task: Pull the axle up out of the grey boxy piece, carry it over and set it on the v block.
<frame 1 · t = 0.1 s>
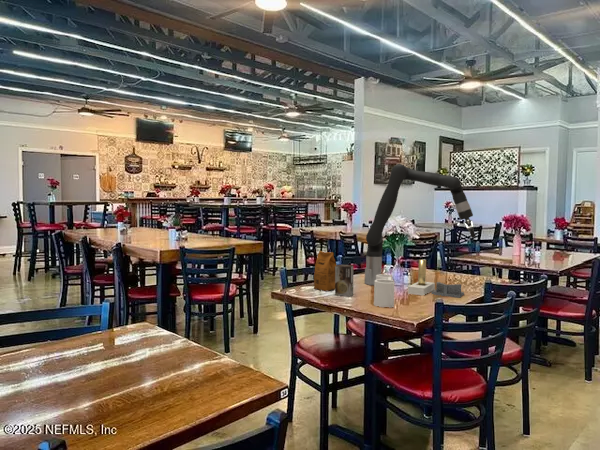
hand: (473, 236, 260), 31 cm above the table, tool tilted 20°, fingers open, 8 cm apart
axle: (422, 275, 259), in the grey boxy piece
coffee box: (344, 295, 249), on the table
grey piece: (383, 302, 233), on the table
v block: (448, 293, 254), on the table
grey boxy piece: (421, 291, 259), on the table
coffee package: (324, 289, 263), on the table
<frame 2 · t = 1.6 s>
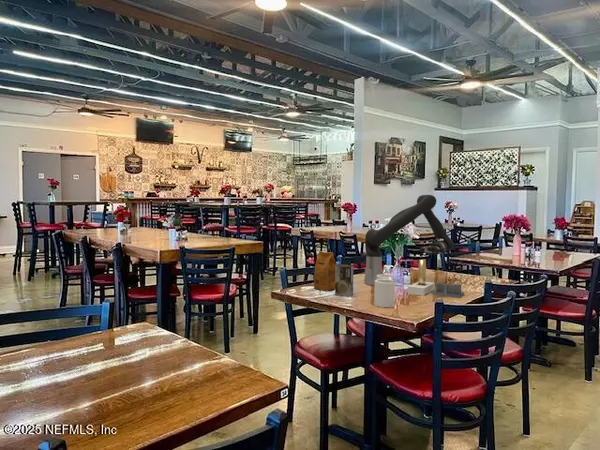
hand: (428, 251, 267), 22 cm above the table, tool horizontal, fingers open, 8 cm apart
nothing on the table moved.
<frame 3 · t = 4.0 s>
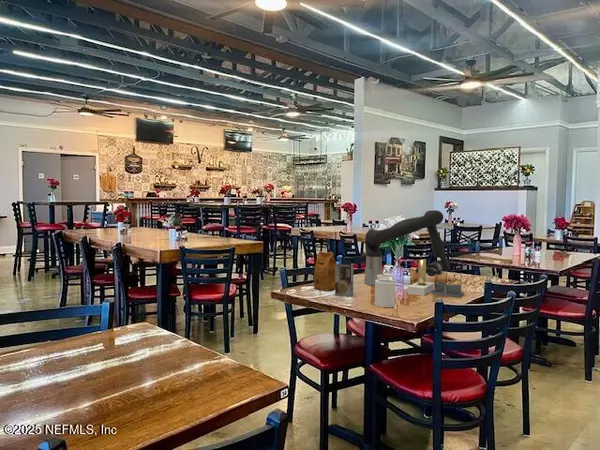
hand: (425, 272, 264), 10 cm above the table, tool horizontal, fingers open, 8 cm apart
nothing on the table moved.
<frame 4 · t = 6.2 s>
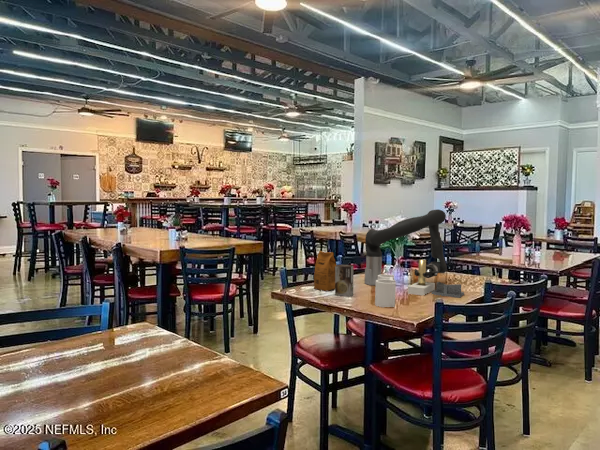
hand: (420, 274, 257), 10 cm above the table, tool horizontal, fingers closed on axle, 4 cm apart
axle: (422, 275, 259), in the grey boxy piece, touching gripper
everything else where it was.
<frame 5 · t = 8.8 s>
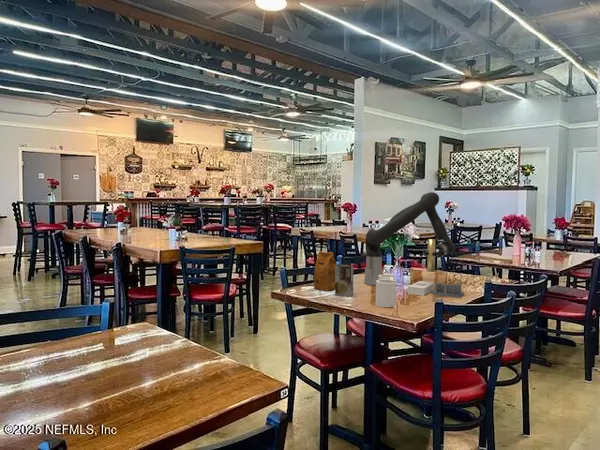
hand: (429, 254, 254), 22 cm above the table, tool horizontal, fingers closed on axle, 4 cm apart
axle: (431, 255, 257), point 21 cm above the table, touching gripper
when the fingers open (13 cm above the table, at t = 11.9 s): axle drops 1 cm, resting on v block.
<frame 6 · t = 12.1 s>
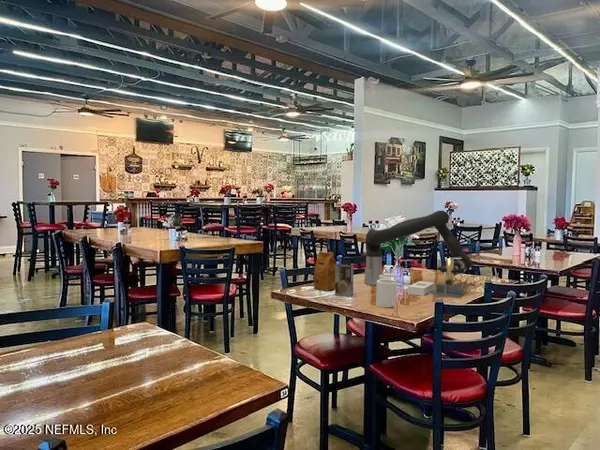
hand: (448, 271, 251), 13 cm above the table, tool horizontal, fingers open, 5 cm apart
axle: (449, 274, 254), point 11 cm above the table, touching v block
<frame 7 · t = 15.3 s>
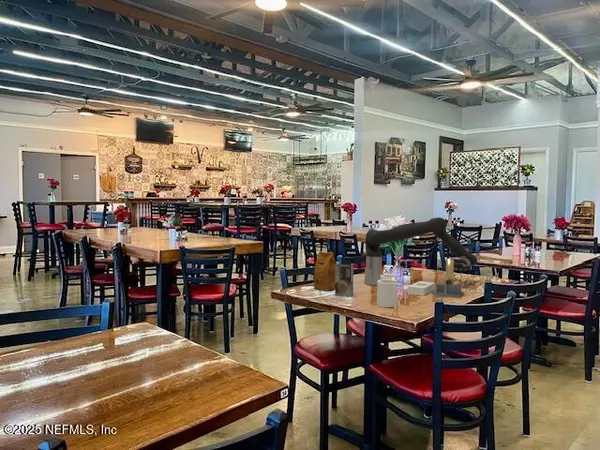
hand: (454, 268, 262), 13 cm above the table, tool horizontal, fingers open, 8 cm apart
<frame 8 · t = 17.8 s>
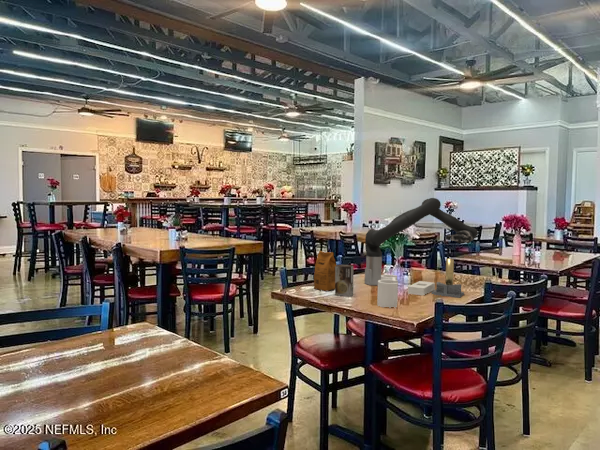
hand: (455, 238, 261), 30 cm above the table, tool horizontal, fingers open, 8 cm apart
at the end: axle 0.1 cm off-centre on the v block, point 10.5 cm above the v block's base; axle tilted 0°; the gripper is holding nothing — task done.
